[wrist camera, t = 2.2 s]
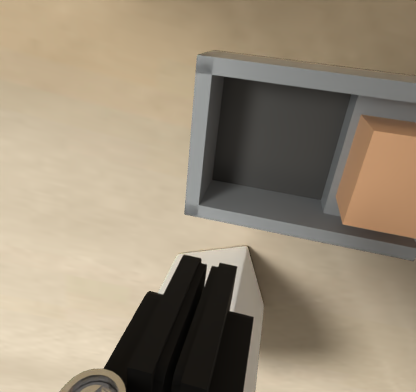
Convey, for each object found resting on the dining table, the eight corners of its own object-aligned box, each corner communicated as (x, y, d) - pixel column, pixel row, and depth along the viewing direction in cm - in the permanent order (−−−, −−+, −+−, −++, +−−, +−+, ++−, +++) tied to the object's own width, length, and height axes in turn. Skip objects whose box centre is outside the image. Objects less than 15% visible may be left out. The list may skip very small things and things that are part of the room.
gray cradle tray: (214, 50, 25) (197, 54, 20) (650, 105, 20) (748, 126, 16) (200, 186, 30) (184, 214, 25) (548, 253, 26) (601, 299, 21)
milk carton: (264, 304, 34) (237, 573, 17) (198, 308, 36) (116, 550, 19) (248, 244, 31) (196, 492, 14) (177, 252, 33) (62, 476, 17)
